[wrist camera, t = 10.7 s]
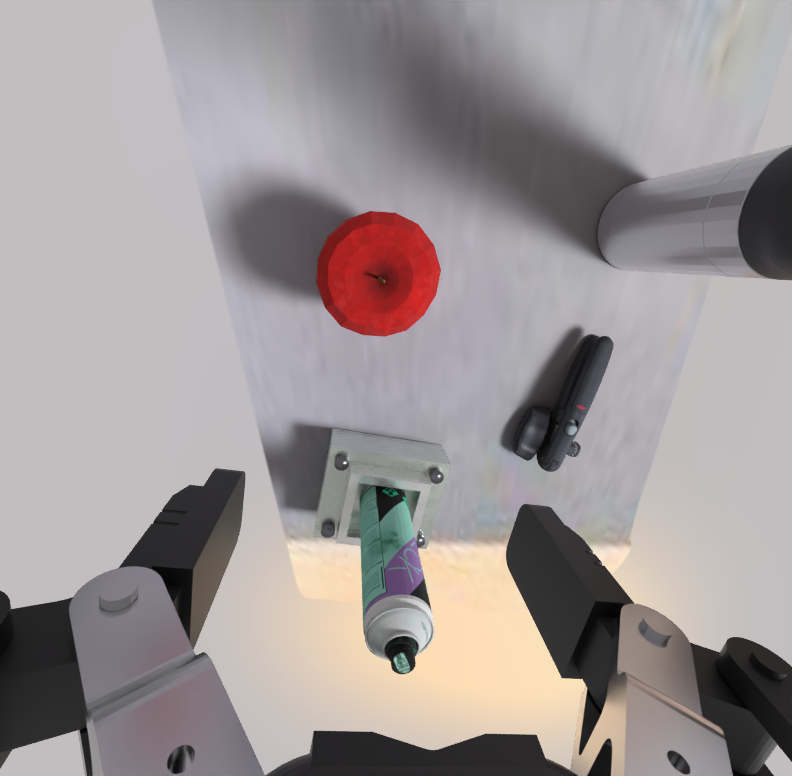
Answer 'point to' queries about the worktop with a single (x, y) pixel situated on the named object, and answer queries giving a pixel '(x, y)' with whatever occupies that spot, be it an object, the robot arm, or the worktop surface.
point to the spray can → (392, 580)
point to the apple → (377, 273)
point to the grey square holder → (379, 482)
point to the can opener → (565, 409)
